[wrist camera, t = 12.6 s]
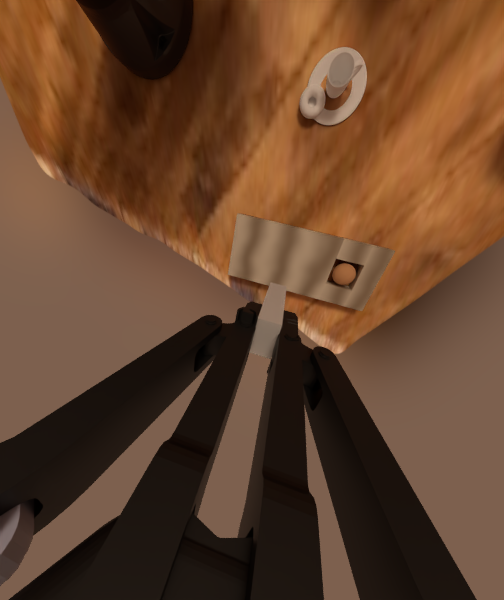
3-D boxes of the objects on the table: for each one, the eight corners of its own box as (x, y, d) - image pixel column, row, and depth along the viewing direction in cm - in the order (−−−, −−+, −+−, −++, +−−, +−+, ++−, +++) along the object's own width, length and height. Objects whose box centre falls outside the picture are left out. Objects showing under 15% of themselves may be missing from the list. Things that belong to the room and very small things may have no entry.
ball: (342, 271, 31) (356, 286, 32) (349, 255, 33) (363, 270, 34) (324, 277, 35) (338, 290, 36) (331, 263, 37) (344, 276, 37)
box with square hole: (231, 271, 41) (227, 274, 39) (240, 213, 36) (237, 213, 34) (358, 305, 38) (361, 311, 36) (388, 248, 33) (395, 250, 31)
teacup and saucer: (296, 127, 29) (297, 114, 25) (305, 53, 26) (307, 26, 22) (356, 125, 28) (365, 112, 24) (373, 47, 24) (387, 17, 21)
